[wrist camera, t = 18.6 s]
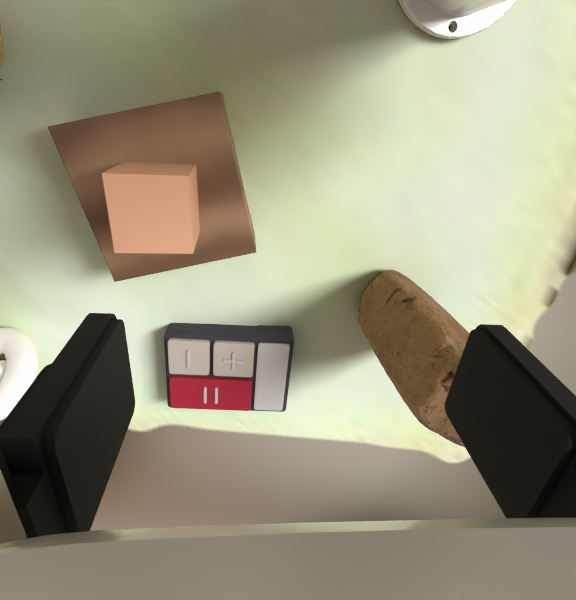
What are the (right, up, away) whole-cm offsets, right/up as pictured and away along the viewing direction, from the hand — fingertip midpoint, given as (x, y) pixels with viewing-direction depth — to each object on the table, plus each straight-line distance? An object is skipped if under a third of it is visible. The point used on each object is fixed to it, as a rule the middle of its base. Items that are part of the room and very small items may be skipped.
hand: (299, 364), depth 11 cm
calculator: (-8, -6, +40) cm, 41 cm away
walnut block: (-12, +14, +29) cm, 35 cm away
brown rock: (+13, +1, +38) cm, 41 cm away
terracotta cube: (-11, +11, +24) cm, 29 cm away
